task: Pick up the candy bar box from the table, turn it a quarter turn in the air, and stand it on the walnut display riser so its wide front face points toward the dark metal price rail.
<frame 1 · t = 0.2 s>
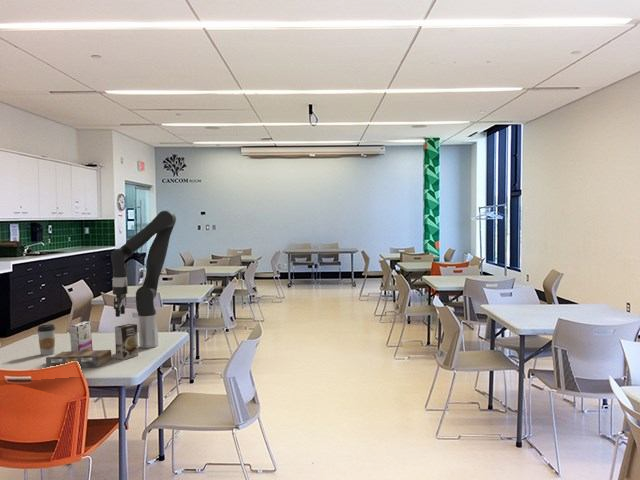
hand: (120, 315, 289), 18 cm above the table, tool pointing down, fingers open, 8 cm apart
coffee box: (127, 357, 269), on the table
coffee cup: (47, 354, 281), on the table
display riser: (80, 362, 261), on the table
candy bar box: (82, 355, 276), on the table
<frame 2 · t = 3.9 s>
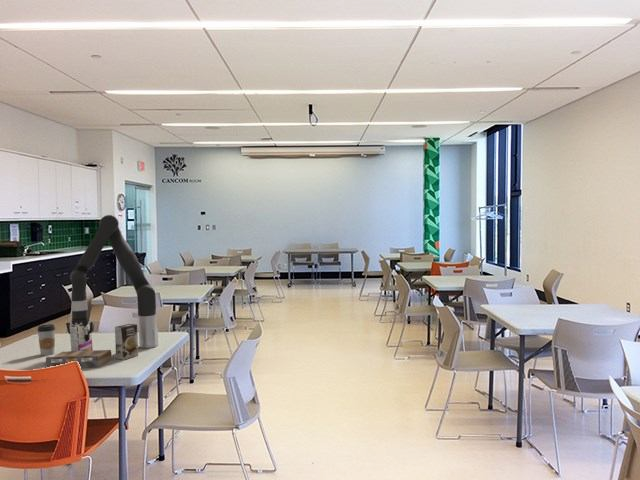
hand: (81, 341, 276), 7 cm above the table, tool pointing down, fingers closed on candy bar box, 5 cm apart
candy bar box: (82, 355, 276), on the table, touching gripper
everything else where it was.
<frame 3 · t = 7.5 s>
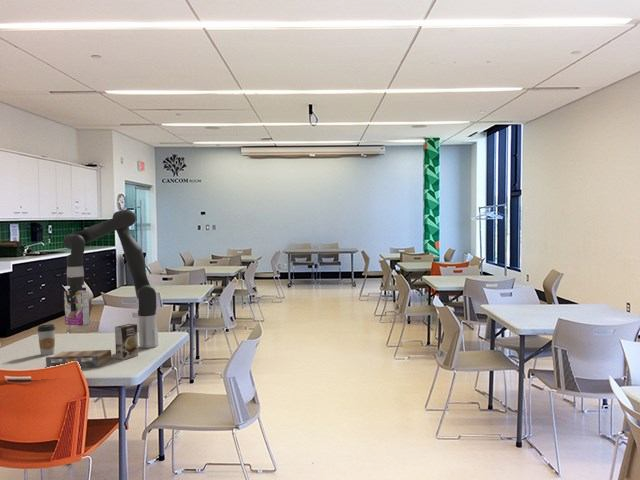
hand: (77, 310, 261), 26 cm above the table, tool pointing down, fingers closed on candy bar box, 5 cm apart
candy bar box: (77, 324, 261), point 19 cm above the table, touching gripper
everything else where it was.
when the fingers open (12 cm above the table, at t = 11.2 s): candy bar box drops 1 cm, resting on display riser.
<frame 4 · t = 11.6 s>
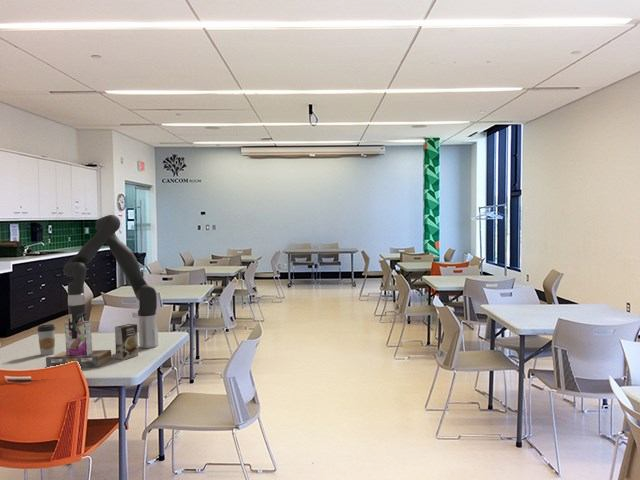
hand: (78, 336, 259), 13 cm above the table, tool pointing down, fingers open, 8 cm apart
candy bar box: (79, 355, 260), point 4 cm above the table, touching display riser
everything else where it was.
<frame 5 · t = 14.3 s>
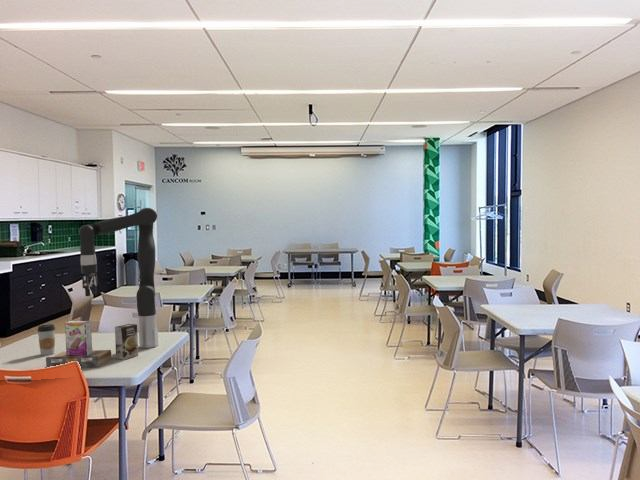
hand: (91, 294, 276), 31 cm above the table, tool pointing down, fingers open, 8 cm apart
nothing on the table moved.
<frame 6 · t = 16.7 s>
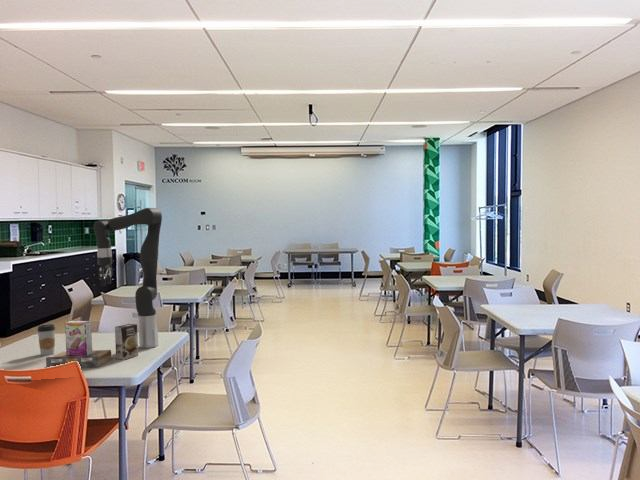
hand: (106, 285, 299), 33 cm above the table, tool pointing down, fingers open, 8 cm apart
nothing on the table moved.
at the end: candy bar box inside the target area on the display riser (0.1 cm from its centre), point 3.8 cm above the display riser's base; candy bar box tilted 0°; the gripper is holding nothing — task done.
